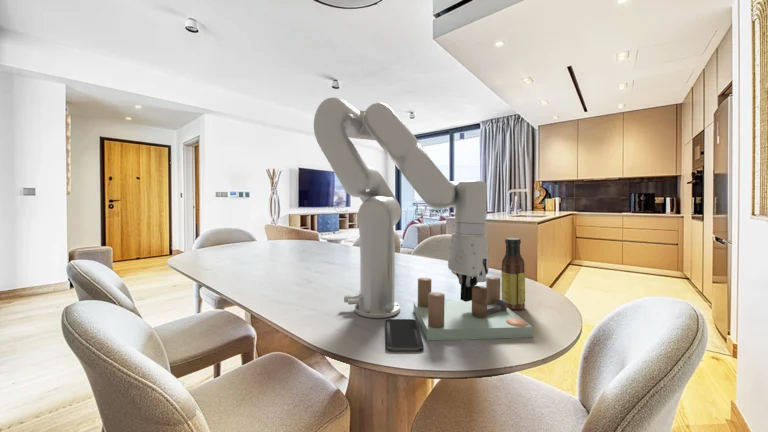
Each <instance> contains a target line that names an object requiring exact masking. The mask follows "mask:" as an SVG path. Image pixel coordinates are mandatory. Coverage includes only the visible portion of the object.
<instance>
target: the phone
mask: <svg viewBox="0 0 768 432" xmlns="http://www.w3.org/2000/svg"><path fill="white" fill-rule="evenodd" d="M417 321H418V320H416V319H413V318H402V319H401V318H392V319H391V318H388V319H386V320H385V350H386V351H387V352H390V353H420V352H421V353H422V352H423V351H424V348H425V345H424V342H423V338H422V335H421V331H420V328H419V324H418V322H417Z"/></svg>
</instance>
